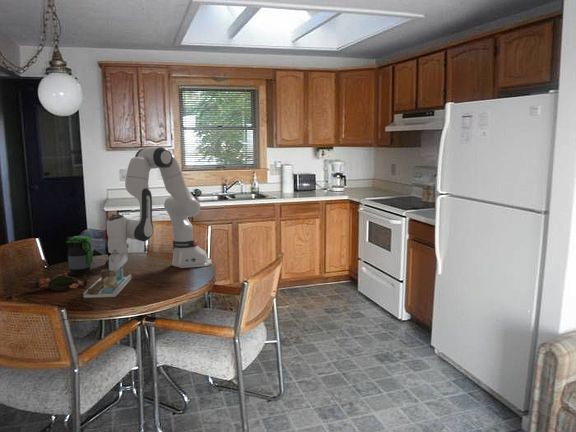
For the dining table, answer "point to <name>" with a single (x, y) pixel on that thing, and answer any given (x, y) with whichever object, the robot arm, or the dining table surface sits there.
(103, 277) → the strip walnut
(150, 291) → the dining table surface
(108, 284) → the maple cube
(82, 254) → the potted plant
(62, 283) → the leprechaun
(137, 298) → the dining table surface
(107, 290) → the strip teal
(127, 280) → the lane board
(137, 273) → the dining table surface
